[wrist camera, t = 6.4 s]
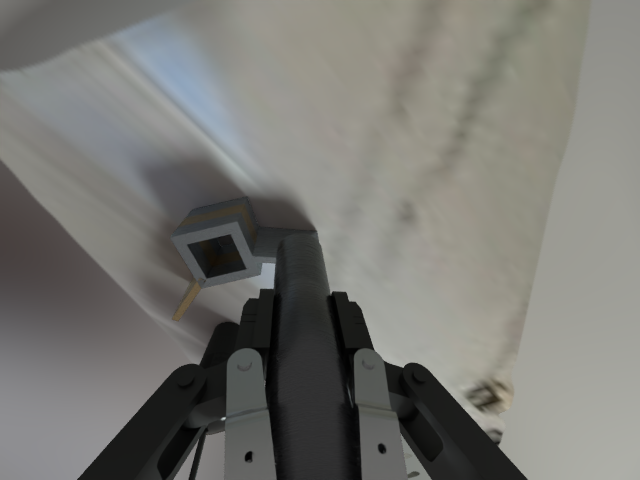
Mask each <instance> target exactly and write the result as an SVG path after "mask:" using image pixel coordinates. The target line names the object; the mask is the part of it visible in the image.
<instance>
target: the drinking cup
mask: <svg viewBox="0 0 640 480" xmlns="http://www.w3.org/2000/svg"><path fill="white" fill-rule="evenodd" d="M238 330H239V325H238V324H236V323H232V322H225V323H221V324H219V325H218V326H217V327H216V328H215V330H214V332H213V335H212V337H211V339H210V342H209V344H208V346H207V348H206V351H205V353H204V355H203V358H202V360H201V362H200V364H199V365H200V366H202V367H203V368H204V369H206V368H210V367H213V366H216V365H219V364H221V363H223V362H224V361H226V360H227V359H228V358H229V357H230V356H231V355H232V353H233V351H234V348H235V344H236V339H237V335H238ZM225 419H226V417H224V418H221V419H219V420H216V421H214V422H211V423H209V424H208V425H207V427H206V428H205V430H204V431H203V433H202V435H201V436H200V438H199V442H198V446H197V449H196V453H195V457H194V461H193V464H192V468H191V472H190V476H189V480H195V477H196V474H197V470H198V466H199V462H200V458H201V454H202V450H203V445H204V441H205V437H206V435H212V434H216V433H219V432H223V431H225Z"/></svg>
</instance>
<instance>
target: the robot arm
mask: <svg viewBox="0 0 640 480" xmlns="http://www.w3.org/2000/svg"><path fill="white" fill-rule="evenodd" d="M331 299H332V304H333V309H334V314H335V319H336V324H337V329H338V334H339V340H340V345H341V350H342V355H343V360H344V365H345V370H346V375H347V381H348V386H349V391H350V396H351V401H352V409H353V420H354V431H355V442H356V448H357V474H358V480H408V477H407V471H406V465H405V459H404V452H403V446H402V440H401V434H402V436H403V437H404V439H405V440H406V442H407V443H408V445H409V446H410V448H411V449H412V451H413V452H414V454H415V455H416V457H417V458H418V459H419V461H420V463H421V464H422V466H423V467H424V469H425V470H426V472H427V473H428V475H429V476H430V477H431V479H432V480H527V478H526V477H525V476H524V475H523V474H522V473H521V472H520V471H519V469H518V468H517V467H516V466H515V465H514V464H513V463H512V462H511V461H510V460H509V458H508V457H507V456H506V455H505V454H504V453H503V452H502V451H501V450H500V448H499V447H498V446H497V445H496V444H495V443H494V442H493V441H492V440H491V439H490V437H489V436H488V435H487V434H486V433H485V432H484V431H483V430H482V429H481V428H480V426H479V425H478V424H477V423H476V422H475V421H474V420H473V419H472V418H471V416H470V415H469V414H468V413H467V412H466V411H465V410H464V409H463V408H462V407H461V405H460V404H459V403H458V402H457V401H456V400H455V399H454V398H453V397H452V396H451V394H450V393H449V392H448V391H447V390H446V389H445V388H444V387H443V386H442V385H441V383H440V382H439V381H438V380H437V379H436V378H435V377H434V376H433V375H432V373H431V372H430V371H429V370H428V369H427V368H425V367H424V366H422V365H420V364H417V363H408V364H406V365H405V366H404V368H402V367H399V366H396V365H392V364H389V363H387V362H385V361H384V360H383V359H382V357H381V356H380V355H379V354H378V353H377V352H375V350H374V348H373V344H372V341H371V338H370V335H369V332H368V329H367V326H366V323H365V320H364V316H363V313H362V310H361V308H360V307H359V306H358V304H357V303H356V302H350V301H349V300H348V296H347V293H346V292H336V291H333V292H332V294H331ZM273 301H274V289H260V296H259V299H256V298H249V300H248V301H247V302H246V303H245V305H244V307H243V311H242V316H241V321H240V325H239V330H238V335H237V339H236V344H235V348H234V351H233V353H232V355H231V356H230V357H229V358H228V359H227V360H226V361H224V362H223V363H221V364H219V365H216V366H213V367H210V368H206V369H204V368H203V367H202V366H200V365H197V364H187V365H184V366H181V367H179V368H178V369H176V370H175V371H173V373H171V375H170V376H169V377H168V378H167V379H166V380H165V381H164V382H163V384H162V385H161V386H160V387H159V388H158V389H157V390H156V391H155V393H154V394H153V395H152V396H151V397H150V398H149V399H148V400H147V402H146V403H145V404H144V405H143V406H142V407H141V408H140V409H139V411H138V412H137V413H136V414H135V415H134V416H133V417H132V419H131V420H130V421H129V422H128V423H127V424H126V425H125V426H124V428H123V429H122V430H121V431H120V432H119V433H118V434H117V435H116V437H115V438H114V439H113V440H112V441H111V442H110V443H109V444H108V445H107V447H106V448H105V449H104V450H103V451H102V452H101V453H100V455H99V456H98V457H97V458H96V459H95V460H94V461H93V462H92V464H91V465H90V466H89V467H88V468H87V469H86V470H85V471H84V473H83V474H82V475H81V476H80V477H79V478H78V479H77V480H173V479H174V477H175V476H176V474H177V472H178V471H179V469H180V468H181V466H182V464H183V463H184V462H185V460H186V458H187V457H188V455H189V454H190V452H191V450H192V449H193V447H194V446H195V444H196V442H197V441H198V439H199V438H200V436H201V435H202V433H203V431H204V430H205V428H206V427H207V425H208V424H209V423H211V422H214V421H216V420H219V419H221V418H224V417H226V419H225V463H224V480H277V479H276V470H275V461H274V452H273V443H272V435H271V426H270V417H269V410H268V408H267V404H266V395H265V385H264V380H266V371H267V362H268V359H269V352H270V339H271V327H272V314H273ZM400 433H401V434H400Z"/></svg>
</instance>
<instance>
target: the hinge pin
mask: <svg viewBox="0 0 640 480" xmlns="http://www.w3.org/2000/svg"><path fill="white" fill-rule="evenodd" d="M265 395H266V404H267V408H268V410H269V417H270V426H271V435H272V443H273V452H274V461H275V470H276V479H277V480H358V474H357V448H356V442H355V431H354V420H353V409H352V401H351V396H350V391H349V386H348V381H347V375H346V370H345V365H344V360H343V355H342V350H341V345H340V340H339V334H338V329H337V324H336V319H335V314H334V309H333V304H332V299H331V293H330V288H329V283H328V278H327V273H326V268H325V263H324V258H323V253H322V248H321V245H320V243H319V242H318V240H317V239H315V238H314V237H313V236H311V235H308V234H304V233H296V234H292V235H289V236H287V237H285V238H284V239H283V240H282V241H281V242H280V243H279V245H278V248H277V254H276V265H275V277H274V301H273V314H272V327H271V339H270V352H269V359H268V362H267V371H266V383H265Z"/></svg>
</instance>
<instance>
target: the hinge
mask: <svg viewBox="0 0 640 480" xmlns="http://www.w3.org/2000/svg"><path fill="white" fill-rule="evenodd" d="M296 233H304V234H308V235H311V236H313V237H314V238H315V239H317V240H318V242H319V239H318V233H317V231H307V230H293V229H280V228H266V227H259V225H258V223H257V220H256V218H255V215H254V212H253V210H252V207H251V205H250V202H249V200H248V197H243V198H239V199H235V200H231V201H226V202H222V203H218V204H214V205H210V206H206V207H202V208H197V209H193V210H192V211H191V212H190V213H189V214H188V216H187V217H186V218H185V219H184V221H183V222H182V223H181V224H180V226H179V227H178V228H177V229H176V231H175V232H174V233H173V234H172V235H171V237H170V239H171V241H172V242H173V244H174V245H175V247H176V249H177V250H178V252H179V253H180V255H181V257H182V258H183V260H184V261H185V263H186V265H187V266H188V268H189V270H190V271H191V273H192V274H193V276H194V278H193V280H192V281H191V283H190V284H189V286H188V288H187V290H186V292H185V294H184V296H183V298H182V300H181V302H180V304H179V306H178V308H177V310H176V312H175V314H174V316H173V318H172V319H173V320H175V321H179V319H180V318H181V316H182V315H183V314H184V312H185V311H186V309H187V308H188V306H189V305H190V304H191V302H192V301H193V299H194V298H195V296H196V295H197V293H198V292H199V291H200V289H202V288H206V287H211V286H215V285H219V284H223V283H228V282H232V281H236V280H241V279H245V278H249V277H253V276H258V275H261V269H262V263H276V254H277V248H278V245H279V243H280V242H281V241H282V240H283V239H284V238H285V237H287V236H289V235H292V234H296ZM229 234H231V236H232V238H233V240H234V243H233V244H228V245H224V246H221V245H220V243H219V242H218V240H217V238H216V237H220V236H225V235H229Z"/></svg>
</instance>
